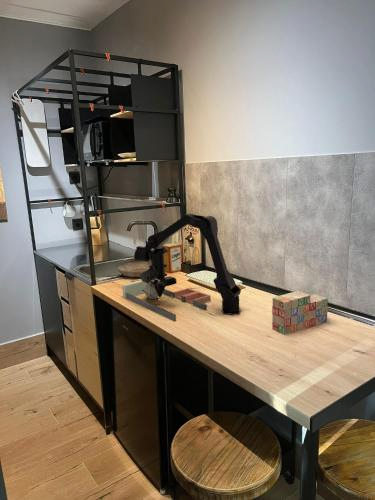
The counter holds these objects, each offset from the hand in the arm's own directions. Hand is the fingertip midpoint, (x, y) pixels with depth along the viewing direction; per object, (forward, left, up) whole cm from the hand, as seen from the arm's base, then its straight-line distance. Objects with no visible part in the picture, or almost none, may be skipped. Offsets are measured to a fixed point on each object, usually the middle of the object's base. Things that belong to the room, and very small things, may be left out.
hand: (159, 296), depth 165 cm
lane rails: (-2, +2, -3) cm, 4 cm away
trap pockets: (-14, -4, -3) cm, 15 cm away
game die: (+4, -5, -3) cm, 7 cm away
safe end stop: (+12, -12, -3) cm, 17 cm away
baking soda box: (+2, -53, -3) cm, 53 cm away
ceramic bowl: (+21, -47, -3) cm, 52 cm away
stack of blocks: (-56, +24, -3) cm, 61 cm away
